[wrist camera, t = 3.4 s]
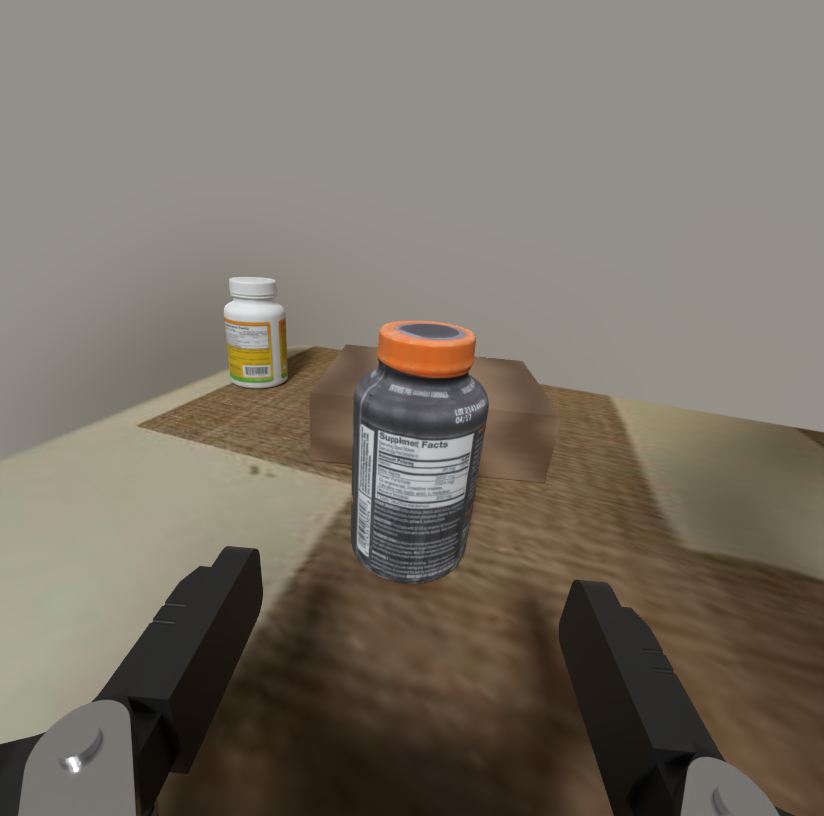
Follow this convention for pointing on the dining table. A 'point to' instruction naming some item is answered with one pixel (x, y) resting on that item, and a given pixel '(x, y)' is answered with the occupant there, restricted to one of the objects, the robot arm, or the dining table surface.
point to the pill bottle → (416, 451)
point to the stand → (505, 427)
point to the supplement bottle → (256, 334)
